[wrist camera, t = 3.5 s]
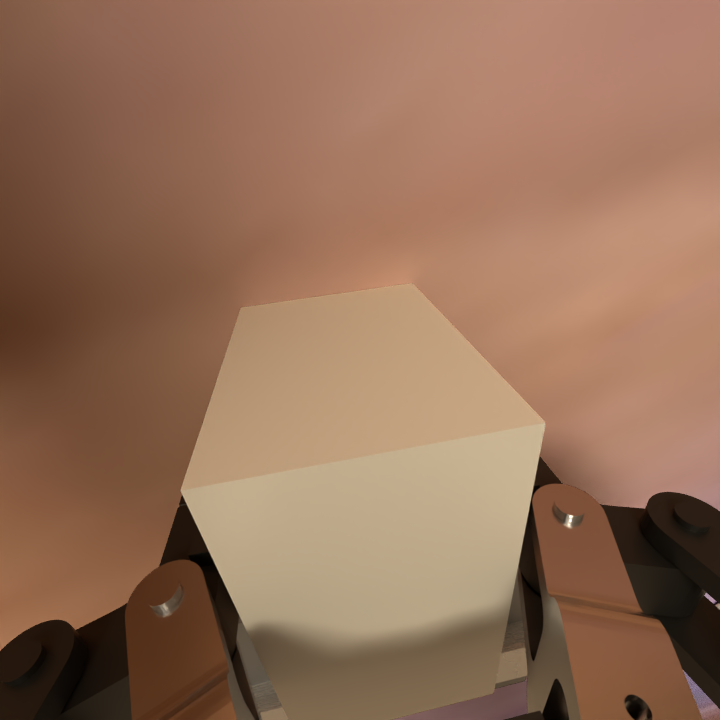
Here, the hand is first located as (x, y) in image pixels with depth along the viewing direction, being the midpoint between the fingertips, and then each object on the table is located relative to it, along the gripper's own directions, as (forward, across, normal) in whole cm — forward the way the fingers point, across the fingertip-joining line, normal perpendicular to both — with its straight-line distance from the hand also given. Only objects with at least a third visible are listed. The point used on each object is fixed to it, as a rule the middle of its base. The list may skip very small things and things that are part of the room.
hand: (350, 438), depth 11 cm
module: (+1, 0, 0) cm, 1 cm away
